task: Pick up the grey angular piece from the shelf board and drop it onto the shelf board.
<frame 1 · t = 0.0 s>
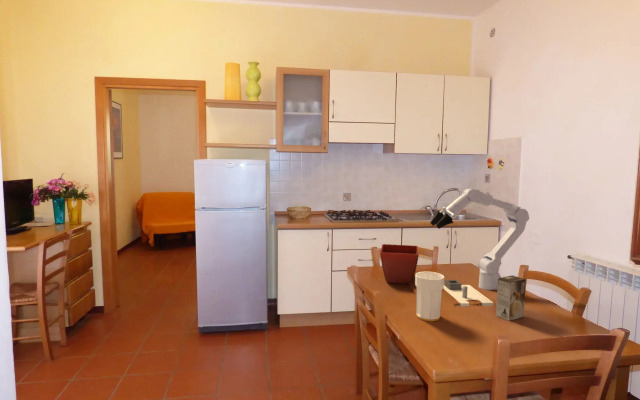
hand: (434, 225, 186), 32 cm above the table, tool tilted 50°, fingers open, 7 cm apart
shelf board: (465, 296, 183), on the table
cup: (427, 317, 159), on the table
grey angular piece: (452, 287, 190), point 1 cm above the table, touching shelf board
coffee box: (509, 316, 161), on the table
plant pot: (398, 280, 207), on the table
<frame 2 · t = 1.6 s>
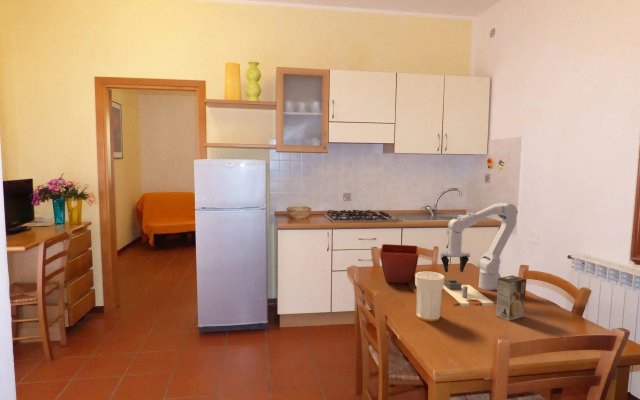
hand: (453, 271, 190), 10 cm above the table, tool pointing down, fingers open, 7 cm apart
nothing on the table moved.
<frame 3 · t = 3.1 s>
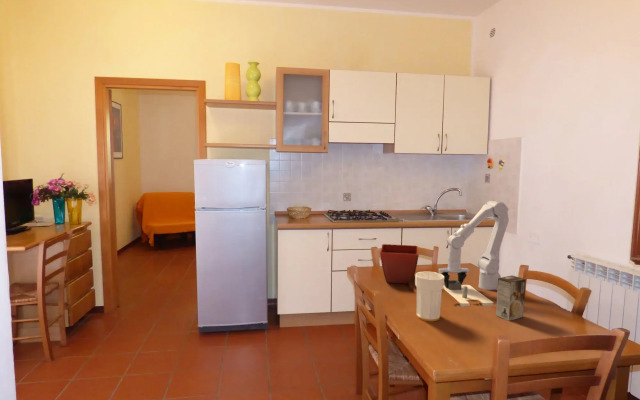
hand: (453, 287, 190), 2 cm above the table, tool pointing down, fingers closed on grey angular piece, 6 cm apart
grey angular piece: (452, 287, 190), point 1 cm above the table, touching gripper, shelf board
everything else where it was.
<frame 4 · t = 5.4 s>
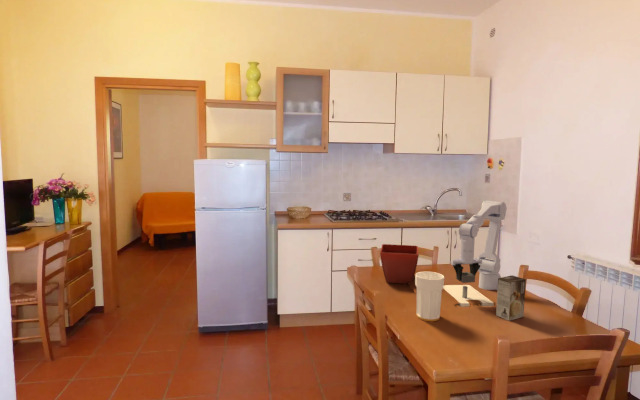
hand: (465, 279, 177), 10 cm above the table, tool pointing down, fingers closed on grey angular piece, 6 cm apart
grey angular piece: (465, 280, 177), point 9 cm above the table, touching gripper
everything else where it was.
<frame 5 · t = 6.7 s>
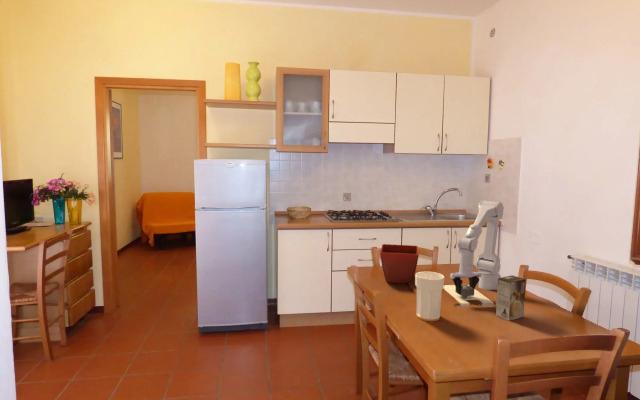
hand: (464, 293, 177), 4 cm above the table, tool pointing down, fingers closed on grey angular piece, 6 cm apart
grey angular piece: (464, 293, 177), point 3 cm above the table, touching gripper
everything else where it was.
when the fingers open (3 cm above the table, at t = 7.8 s): grey angular piece drops 1 cm, resting on shelf board.
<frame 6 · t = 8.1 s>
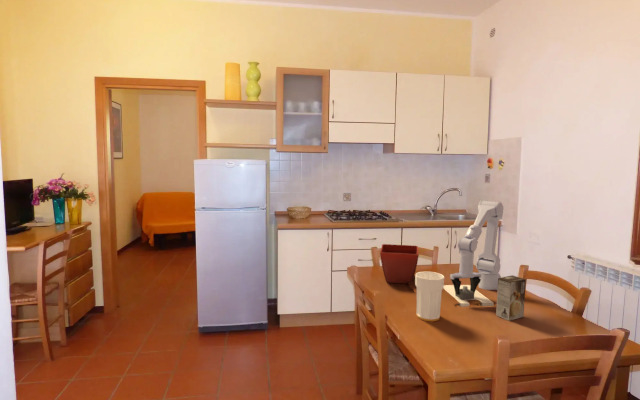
hand: (464, 293, 177), 3 cm above the table, tool pointing down, fingers open, 7 cm apart
grey angular piece: (464, 297, 178), point 1 cm above the table, touching shelf board
everything else where it was.
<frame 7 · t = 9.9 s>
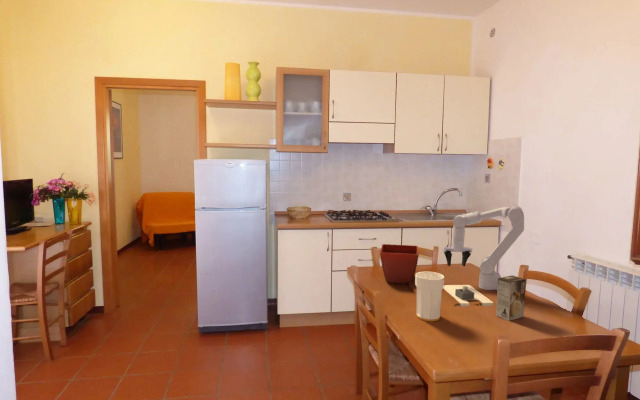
hand: (456, 265, 197), 10 cm above the table, tool pointing down, fingers open, 7 cm apart
nothing on the table moved.
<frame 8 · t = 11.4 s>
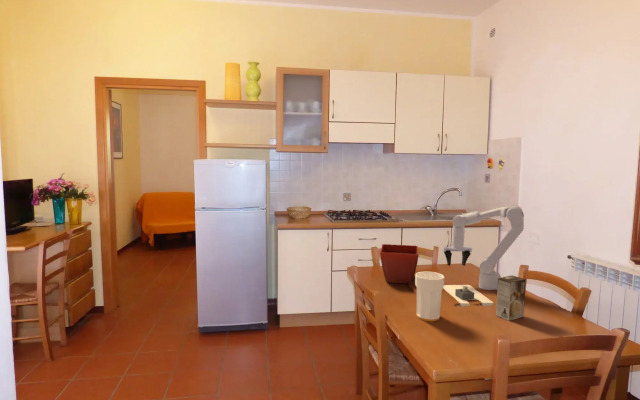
hand: (456, 265, 198), 10 cm above the table, tool pointing down, fingers open, 7 cm apart
nothing on the table moved.
at the end: grey angular piece 0.2 cm from the target spot, point 1.5 cm above the table; the gripper is holding nothing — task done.
